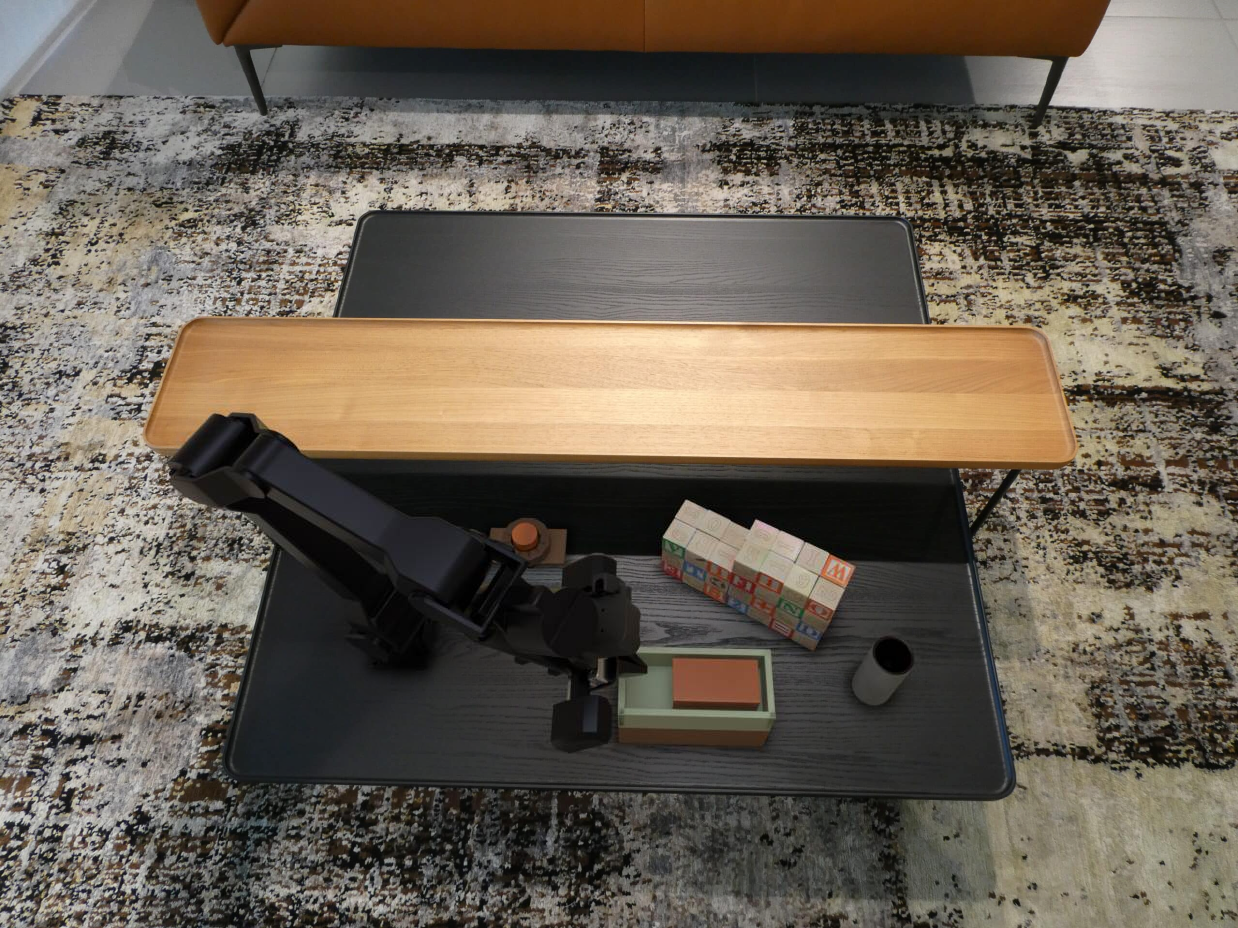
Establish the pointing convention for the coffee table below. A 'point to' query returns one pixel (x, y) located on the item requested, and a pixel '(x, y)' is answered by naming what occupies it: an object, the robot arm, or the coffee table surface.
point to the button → (525, 537)
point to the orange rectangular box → (715, 684)
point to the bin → (657, 723)
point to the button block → (548, 545)
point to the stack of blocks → (757, 571)
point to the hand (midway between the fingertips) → (644, 670)
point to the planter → (883, 670)
